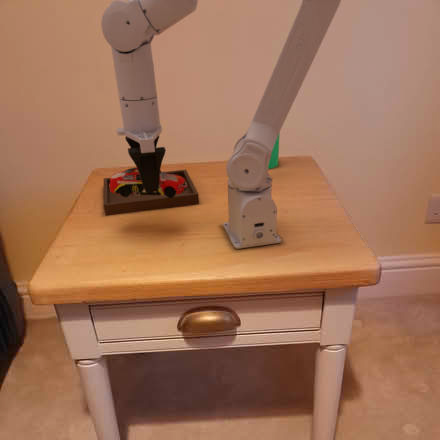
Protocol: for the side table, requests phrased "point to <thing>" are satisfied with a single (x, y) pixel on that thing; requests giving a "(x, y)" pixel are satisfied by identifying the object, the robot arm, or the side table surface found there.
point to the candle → (274, 155)
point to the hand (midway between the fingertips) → (149, 183)
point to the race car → (132, 184)
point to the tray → (149, 198)
